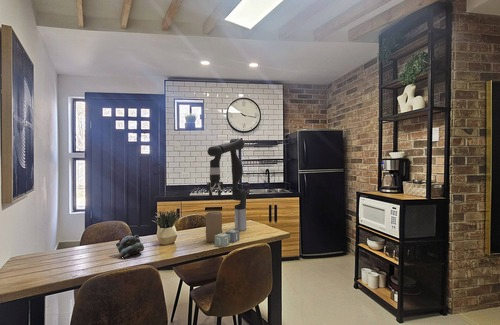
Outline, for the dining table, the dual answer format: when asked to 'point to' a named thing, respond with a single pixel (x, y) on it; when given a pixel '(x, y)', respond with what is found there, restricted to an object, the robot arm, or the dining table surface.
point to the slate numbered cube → (233, 235)
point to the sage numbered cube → (221, 240)
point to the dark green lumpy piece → (129, 245)
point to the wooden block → (213, 225)
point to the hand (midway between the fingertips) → (215, 196)
